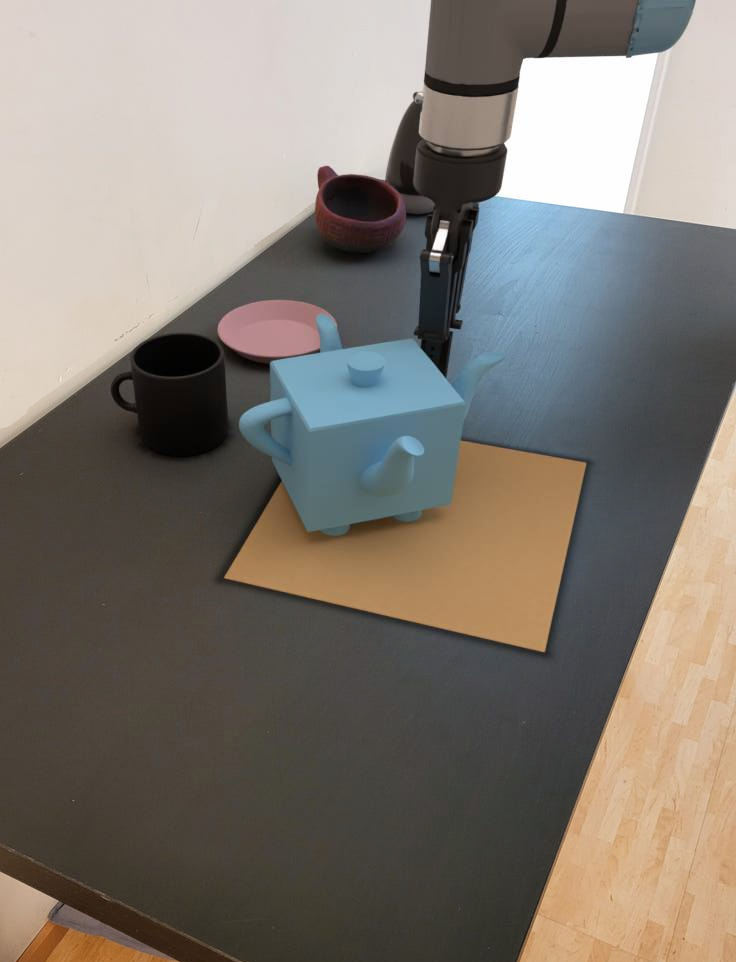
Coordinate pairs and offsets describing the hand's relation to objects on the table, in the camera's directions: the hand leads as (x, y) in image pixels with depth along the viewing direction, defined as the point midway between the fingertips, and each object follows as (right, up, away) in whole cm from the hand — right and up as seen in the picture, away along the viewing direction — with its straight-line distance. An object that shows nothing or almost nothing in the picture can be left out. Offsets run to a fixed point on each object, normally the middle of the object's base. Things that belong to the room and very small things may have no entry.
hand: (429, 392), depth 95 cm
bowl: (-4, +31, +38) cm, 49 cm away
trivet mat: (-2, -13, -6) cm, 15 cm away
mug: (-26, -3, +5) cm, 27 cm away
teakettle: (-7, -11, -4) cm, 14 cm away
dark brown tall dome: (+7, +40, +47) cm, 62 cm away
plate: (-15, +11, +18) cm, 26 cm away
